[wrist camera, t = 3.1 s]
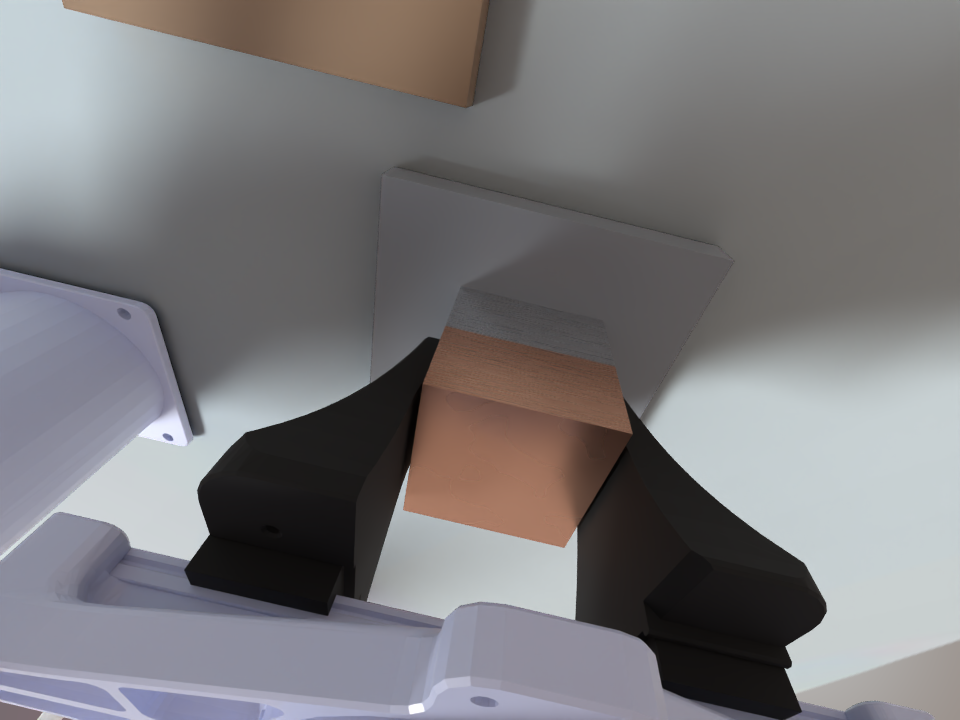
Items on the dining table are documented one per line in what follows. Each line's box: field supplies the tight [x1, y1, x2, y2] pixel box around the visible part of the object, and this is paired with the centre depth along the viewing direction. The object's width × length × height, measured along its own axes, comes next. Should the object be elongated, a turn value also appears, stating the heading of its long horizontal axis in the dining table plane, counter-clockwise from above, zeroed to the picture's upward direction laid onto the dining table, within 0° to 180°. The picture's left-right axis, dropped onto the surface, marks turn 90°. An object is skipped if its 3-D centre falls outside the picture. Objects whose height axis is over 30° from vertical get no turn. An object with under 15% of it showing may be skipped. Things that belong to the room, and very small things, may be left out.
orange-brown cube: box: [403, 286, 633, 548], centre depth 12 cm, size 5×5×5 cm
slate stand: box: [370, 167, 734, 419], centre depth 15 cm, size 10×10×1 cm
